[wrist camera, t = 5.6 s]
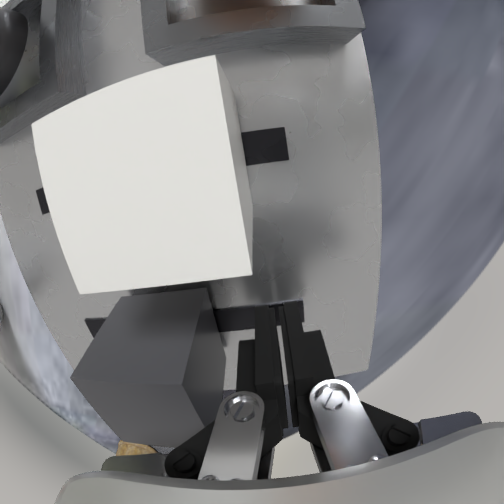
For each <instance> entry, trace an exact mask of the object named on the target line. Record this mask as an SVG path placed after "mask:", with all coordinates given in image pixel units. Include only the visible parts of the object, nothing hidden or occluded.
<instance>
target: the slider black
mask: <svg viewBox="0 0 504 504" xmlns="http://www.w3.org/2000/svg"><path fill="white" fill-rule="evenodd" d="M225 368H226V355H225V351H224V348H223V345H222V341H221V338H220V335H219V331H218V328H217V324H216V321H215V317H214V313H213V310H212V306H211V302H210V299H209V295H208V291H207V288H199V289H190V290H181V291H172V292H163V293H153V294H143V295H133V296H122V297H121V298H120V299H119V301H118V302H117V303H116V305H115V306H114V308H113V309H112V311H111V312H110V314H109V315H108V317H107V318H106V320H105V322H104V323H103V325H102V326H101V328H100V329H99V331H98V332H97V334H96V336H95V337H94V339H93V340H92V342H91V344H90V345H89V347H88V348H87V350H86V352H85V353H84V355H83V357H82V358H81V360H80V362H79V363H78V365H77V367H76V368H75V370H74V372H73V374H72V375H71V377H70V378H71V380H72V381H73V382H74V384H75V385H76V386H77V388H78V389H79V391H80V392H81V393H82V394H83V396H84V397H85V398H86V400H87V401H88V402H89V403H90V405H91V406H92V407H93V408H94V410H95V411H96V412H97V413H98V414H99V416H100V417H101V418H102V419H103V420H104V421H105V422H106V424H107V425H108V426H109V427H110V428H111V429H112V430H113V431H114V433H115V434H116V435H117V436H118V437H119V438H120V439H121V440H122V441H123V442H129V443H136V444H143V445H152V446H161V447H173V448H177V447H178V446H180V445H181V444H182V443H184V442H185V441H187V440H188V439H190V438H191V437H192V436H194V435H195V434H197V433H198V432H199V431H201V430H202V429H203V428H205V427H206V426H207V425H209V424H210V423H211V422H213V421H214V420H215V419H216V417H217V413H218V410H219V407H220V404H221V402H222V398H223V388H224V378H225Z"/></svg>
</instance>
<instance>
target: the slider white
mask: <svg viewBox="0 0 504 504" xmlns="http://www.w3.org/2000/svg"><path fill="white" fill-rule="evenodd" d="M31 125H32V132H33V139H34V145H35V151H36V156H37V161H38V166H39V171H40V176H41V180H42V184H43V188H44V192H45V196H46V200H47V204H48V207H49V211H50V214H51V218H52V221H53V224H54V227H55V230H56V233H57V236H58V239H59V242H60V245H61V248H62V251H63V254H64V256H65V259H66V262H67V264H68V267H69V269H70V272H71V274H72V277H73V279H74V282H75V284H76V286H77V289H78V291H79V293H80V294H89V293H100V292H110V291H120V290H129V289H139V288H148V287H157V286H166V285H175V284H183V283H192V282H200V281H208V280H216V279H224V278H232V277H240V276H248V275H252V239H253V205H252V199H251V193H250V186H249V180H248V174H247V168H246V161H245V155H244V149H243V143H242V137H241V131H240V124H239V118H238V112H237V106H236V100H235V94H234V92H233V90H232V88H231V85H230V83H229V81H228V79H227V77H226V75H225V73H224V71H223V69H222V67H221V65H220V63H219V61H218V60H217V58H216V56H215V55H212V56H207V57H202V58H198V59H193V60H189V61H185V62H181V63H177V64H173V65H170V66H166V67H163V68H159V69H156V70H153V71H149V72H146V73H143V74H140V75H137V76H134V77H131V78H128V79H126V80H123V81H120V82H118V83H115V84H112V85H110V86H107V87H105V88H102V89H100V90H98V91H95V92H93V93H91V94H88V95H86V96H84V97H82V98H80V99H77V100H75V101H73V102H71V103H69V104H67V105H65V106H63V107H61V108H59V109H57V110H55V111H54V112H52V113H50V114H48V115H46V116H44V117H43V118H41V119H39V120H37V121H36V122H34V123H32V124H31Z"/></svg>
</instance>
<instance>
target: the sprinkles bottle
mask: <svg viewBox="0 0 504 504" xmlns="http://www.w3.org/2000/svg"><path fill="white" fill-rule="evenodd" d="M151 453H157V452H156V451H155V450H154V449H153V448H152V447H150V446H148V445H143V444H136V443H129V442H123V441H122V440H120V441H119V443H118V450H117V453H116V456H122V455H139V454H151Z"/></svg>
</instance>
